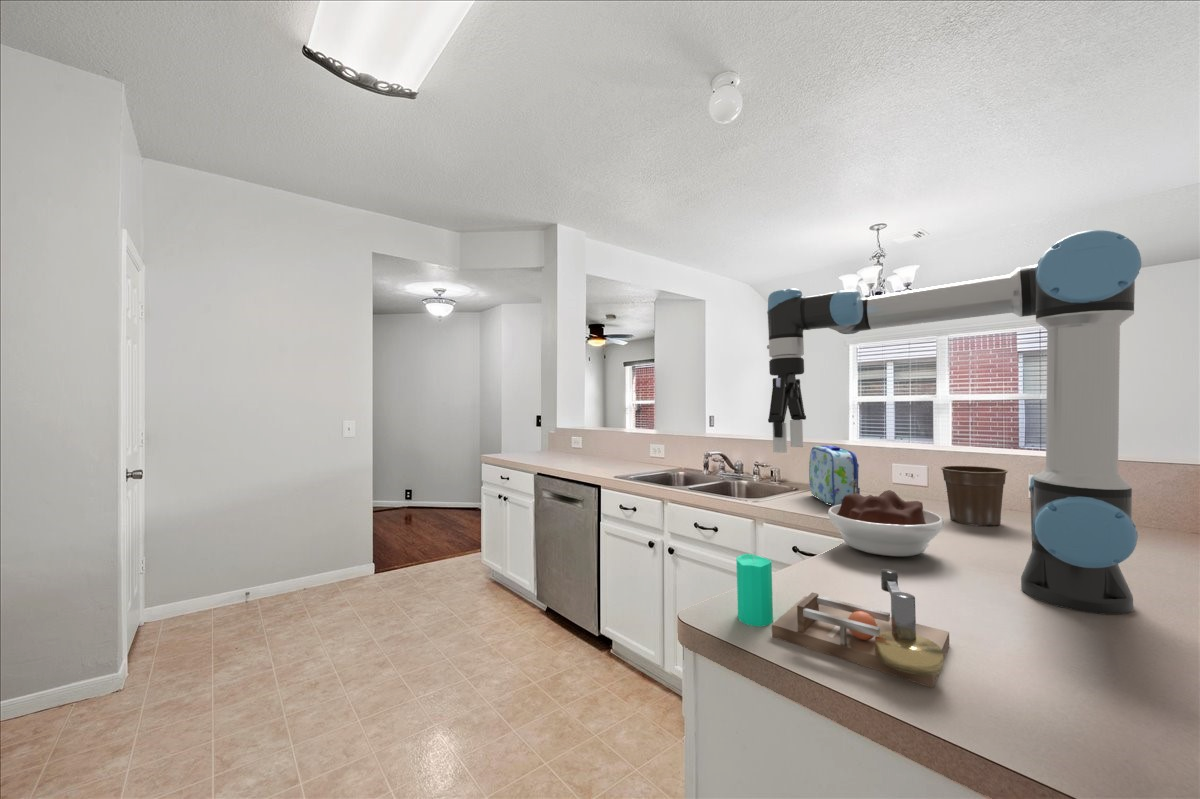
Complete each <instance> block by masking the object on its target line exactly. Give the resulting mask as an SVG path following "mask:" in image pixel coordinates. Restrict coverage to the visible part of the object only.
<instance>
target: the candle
mask: <svg viewBox="0 0 1200 799" xmlns="http://www.w3.org/2000/svg"><path fill="white" fill-rule="evenodd" d="M735 561H736V562H735V563H736V590H737V591H736V594H737V602H736V603H737V618H738V621H740V622H742V623H743V624H744V625H748V626H751V627H766V626H770V625H772V624H773V623H774V616H773V615H774V609H773V608H774V607H773V570H772V568H773V567H772V566H773V565H772V561H771V559H770V558H766V557H763V556H760V555H756V554H755V551H754V550H753V551H752V554H750V553H745V554H741V555H739V556H736V560H735Z"/></svg>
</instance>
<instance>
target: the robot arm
mask: <svg viewBox="0 0 1200 799" xmlns="http://www.w3.org/2000/svg"><path fill="white" fill-rule="evenodd" d="M1141 268H1142V256H1141V253H1140V250H1139V248H1138V246H1137V245H1136V244H1135V243H1134V241H1133V240H1131V239H1130V238H1129V237H1127V236H1125V235H1123V234H1121V233H1119V232H1115V231H1111V230H1104V229H1095V230H1094V229H1093V230H1085V231H1079V232H1076V233H1072V234H1070V235H1068V236H1066V237H1064V238H1062V239H1059V240H1058V241H1057V242H1056V243H1054V244H1053V245H1051V246H1050V247H1049V248H1048V249H1047V250H1046V251H1045V252H1044V253H1043V254H1042V255H1041V257H1040V258H1039V260H1038V262H1037V263H1036V264H1032V265H1027V266H1022V267H1017V268H1016V269H1015V270H1014V271H1012V272H1011V273H1009V274H1005V275H999V276H992V277H985V278H981V279H973V280H968V281H962V282H961V281H960V282H955V283H949V284H943V285H942V284H941V285H936V286H930V287H924V288H919V289H918V288H917V289H912V290H905V291H900V292H899V291H898V292H893V293H886V294H880V295H874V296H869V297H863V296H861V293H860V291H859V290H857V289H847V290H843V289H841V290H840V289H839V290H837V291H834V292H832V291H831V292H827V293H820V294H815V295H808V296H807V295H806V296H803V293H802V290H800V289H798V288H787V289H785V288H784V289H778V290H776V291H775V290H774V291H773V292H771V293H770V294H769V295H768V298H767V312H766V314H767V326H768V327H767V328H768V344H767V346H766V349H767V350H768V354H769V355H768V356H769V358H771V359H769V361H768V362H769V363H768V364H769V374H770V376H777V377H775V378H774V377H773V378H772V391H771V398H770V399H771V400H770V407H769V414H768V418H767V419H768V420H767V421H768V423H771V424H772V444H773V445H772V446H773V447H772V448H773V453H781V454H782V453H785V454H786V453H788V444H787V443H788V442H787V441H788V440H787V437H788V436H787V422H785V420H786V414H787V410H788V412H789V415H790V420H789V436H790V438H789V440H790V447H791V448H803V447H804V436H803V434H804V433H803V431H804V430H803V420H807V415H805V408H804V402H803V396H802V389H801V379H800V378H796V375H797V376H798V375H799V376H800V375H803V374H804V373H805V359H804V358H803V357H802V356H804V355H805V354H804V353H805V351H804V350H805V348H804V346H805V345H804V331H811V330H820V329H830V330H834V331H836V332H837V333H839V334H841V335H842V334H843V335H853V334H857V333H859V332H864V331H869V330H877V329H879V330H880V329H884V328H893V327H895V328H896V327H902V326H911V325H919V324H927V323H929V324H930V323H935V322H944V321H945V322H946V321H954V320H960V319H961V320H962V319H963V320H964V319H969V318H980V317H987V316H996V315H1005V314H1011V313H1012V314H1014V315H1015V316H1018V317H1020V318H1021V317H1022V318H1023V317H1031V316H1035V322H1036V323H1038V324H1039V325H1040V326H1042V327H1043V328H1045V330H1046V332H1047V333H1046V334H1047V335H1046V338H1047V340H1046V347H1047V348H1046V421H1045V422H1046V425H1045V427H1046V432H1045V434H1046V438H1045V439H1046V440H1045V444H1046V445H1045V468H1044V469H1043V470H1042V471H1040V472H1039V473H1038V474H1035V475H1033V476H1032V477H1031V478H1030V481H1029V486H1028V491H1029V492H1030V526H1031V529H1030V530H1031V533H1030V534H1031V552H1030V554H1029V557H1028V559H1027V561H1026V564H1025V567H1024V568H1023V571H1022V573H1021V577H1020V583H1021V584H1020V588H1021V590H1022V592H1024V593H1025V594H1026V595H1028V596H1030V597H1032V598H1034V599H1036V600H1038V601H1041V602H1044V603H1046V604H1050V605H1053V606H1057V607H1061V608H1065V609H1069V610H1072V611H1073V610H1074V611H1078V612H1079V611H1080V612H1085V613H1091V614H1092V613H1093V614H1099V615H1100V614H1101V615H1102V614H1103V615H1124V614H1129V613H1131V612H1133V610H1134V597H1133V594H1132V592H1131V590H1130V587H1129V584H1128V583H1127V581H1126V579H1125V576H1124V574H1123V571H1122V570H1121V568H1120V566H1119V564H1120V563H1122V562H1125V561H1126V560H1127V559H1128V558H1129V557H1131V556H1132V554H1133V553H1134V551H1135V550H1136V547H1137V544H1138V538H1139V534H1138V530H1136V528H1137V527H1136V524H1135V523H1134V521H1133V520H1132V516H1133V515H1132V513H1133V511H1132V508H1133V507H1132V506H1133V504H1132V500H1133V499H1132V494H1133V493H1132V492H1133V487H1132V484H1131V483H1129V482H1128V481H1127V480H1125V479H1124V477H1122V476H1121V475H1120V474H1119V429H1120V428H1119V426H1120V425H1119V424H1120V423H1119V420H1120V418H1119V416H1120V410H1119V409H1120V354H1121V352H1120V351H1121V350H1120V348H1121V347H1120V345H1121V343H1120V342H1121V340H1120V339H1121V325H1122V324H1123V323H1124V322H1126V321H1127V320H1128V319H1129V318H1130V317H1132V316H1133V315H1134V314H1135V288H1136V286H1135V284H1136V282H1135V280H1136V279H1137V277H1138V276H1139V275H1140V271H1141Z"/></svg>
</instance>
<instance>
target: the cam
mask: <svg viewBox="0 0 1200 799" xmlns="http://www.w3.org/2000/svg"><path fill="white" fill-rule="evenodd" d="M898 576H899V574H898V571H896V570H893V569H881V570H880V578H881V579H880V582H881V583H880V584H881V587H880V588H881V590H882V591H884V592H887V593H889V595H890V612H891V613H890V617H891V623H892V631H889V632H882V633H880V635H879V636H878V637H875V653H876V656H877V658H878V659H879V660H880V661H881V662H883V663H884V664H886V665H888V666H889V667H892V668H894V669H896V670H899V671H902V672H905V673H910V674H915V675H924V676H928V675H936V674H938V675H939V674H941V673H942V672H943V671H944V669H945V668H944V660H943V651H942V649H941V648H940V647H939V646H938V645H937V644H936V643H934V642H932V641H930V640H928V639H926V638H924V637H921V636H918V635H916V624H917V622H916V621H917V620H916V597H915V596H914V595H913V594H910V593H907V592H902V591H901V590H900V588H899V579H898V578H899V577H898Z"/></svg>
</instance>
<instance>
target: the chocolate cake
mask: <svg viewBox="0 0 1200 799" xmlns="http://www.w3.org/2000/svg"><path fill="white" fill-rule="evenodd" d="M827 516H828V518H829V520H830V522H831V523H832V525H833V526H834V527H835V528H836V529H837V530H838V531H839V532H840V536H841V537H842V539H843V541H844V543H846V544H847V545H848V546H850V547H851V548H853V549H856V550H858V551H861V552H864V553H868V554H874V555H877V556H885V557H886V556H888V557H911V556H917V555H920V554H922V553H924V552H925V551H926V550H927V548H928V546H929V544H930V542H931V541H932V540H933V539H935V537H936V536H938V535H939V534H940V533H941V531H942V530H943V528H944V524H945V523H944V520H943V518H942V516H940V515H939V514H937V513H935V512H932V511H930V510H925V509H924V506H923V501H922V502H921V501H919V500H911V501H906V500H904V499H902V498H901V497H900V496H899V495H898V494H897V493H896V492H895V491H893V490H890V489H888V490H885V491H883V492H881V493H880V494H879V495H872V494H868V495H867V496H863V495H862V494H861V493H860V494H858V493H854V494H849V495H845V496H844V498H843V500H842V504H840V505H835V506H831V507H830V508H828V510H827Z"/></svg>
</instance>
